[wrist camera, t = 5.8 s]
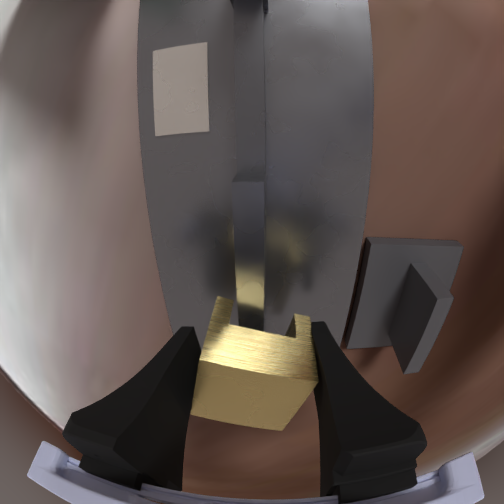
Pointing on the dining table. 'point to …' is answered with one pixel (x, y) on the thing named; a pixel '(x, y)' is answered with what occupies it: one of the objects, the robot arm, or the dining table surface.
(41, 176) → the dining table surface
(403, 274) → the grey finned base plate
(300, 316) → the clip
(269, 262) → the rail
